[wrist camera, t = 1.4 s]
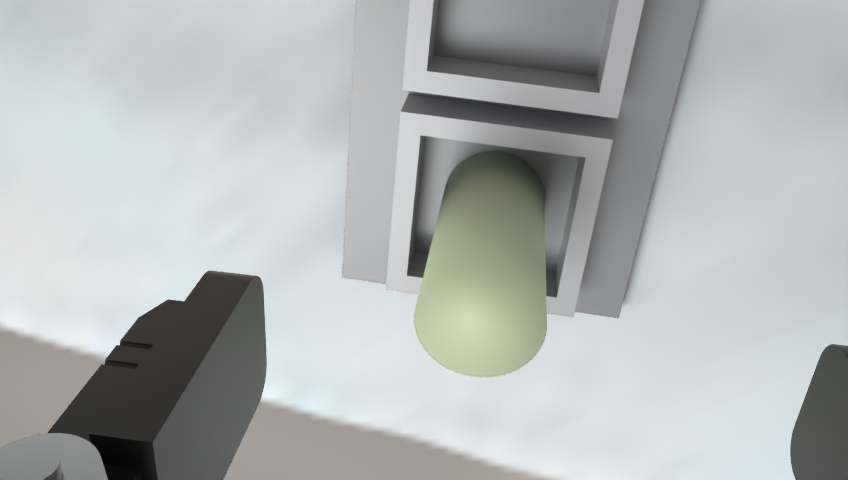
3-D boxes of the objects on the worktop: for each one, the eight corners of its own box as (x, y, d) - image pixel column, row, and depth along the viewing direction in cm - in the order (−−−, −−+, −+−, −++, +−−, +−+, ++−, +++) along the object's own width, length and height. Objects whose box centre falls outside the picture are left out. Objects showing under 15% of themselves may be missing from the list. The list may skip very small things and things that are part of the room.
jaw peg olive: (450, 144, 31) (420, 257, 23) (552, 158, 31) (557, 277, 23) (439, 234, 33) (409, 366, 25) (535, 247, 32) (535, 386, 25)
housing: (371, -192, 27) (353, -193, 24) (732, -153, 26) (754, -149, 23) (346, 265, 35) (331, 302, 33) (616, 305, 34) (623, 345, 32)
